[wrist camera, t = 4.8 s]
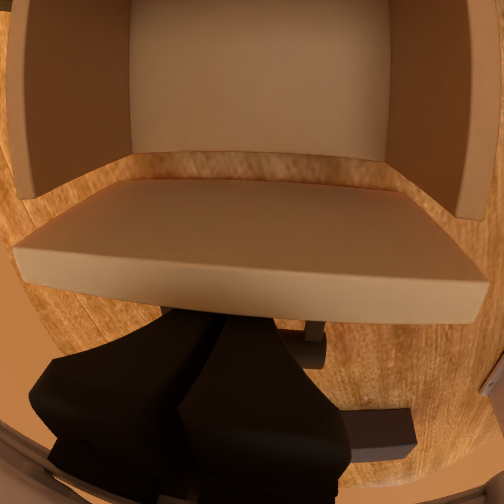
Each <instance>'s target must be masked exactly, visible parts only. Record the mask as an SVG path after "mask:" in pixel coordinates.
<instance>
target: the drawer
mask: <svg viewBox="0 0 504 504" xmlns="http://www.w3.org/2000/svg"><path fill="white" fill-rule="evenodd" d="M500 108H501V50H500V36H499V26H498V18H497V10H496V4H495V0H13V3H12V9H11V16H10V23H9V32H8V43H7V58H6V109H7V125H8V137H9V146H10V154H11V162H12V169H13V175H14V181H15V186H16V192H17V197H18V199H19V200H24V199H36V198H37V197H39V196H41V195H43V194H45V193H47V192H49V191H51V190H53V189H55V188H57V187H59V186H61V185H63V184H65V183H67V182H69V181H71V180H73V179H75V178H77V177H80V176H82V175H84V174H86V173H88V172H91V171H93V170H95V169H97V168H100V167H102V166H104V165H107V164H109V163H111V162H114V161H116V160H119V159H121V158H124V157H126V156H129V155H131V154H144V153H164V152H201V151H232V152H270V153H290V154H306V155H320V156H331V157H342V158H352V159H361V160H370V161H378V162H385V163H387V164H388V165H390V166H391V167H393V168H394V169H395V170H397V171H398V172H399V173H401V174H402V175H403V176H405V177H406V178H407V179H409V180H410V181H411V182H413V183H414V184H415V185H417V186H418V187H419V188H420V189H422V190H423V191H424V192H425V193H427V194H428V195H429V196H430V197H432V198H433V199H434V200H435V201H437V202H438V203H439V204H440V205H441V206H443V207H444V208H445V209H446V210H447V211H448V212H450V213H451V214H452V215H453V216H454V217H456V218H461V219H468V220H474V221H483V219H484V215H485V211H486V206H487V202H488V197H489V193H490V188H491V182H492V177H493V171H494V165H495V158H496V151H497V143H498V134H499V123H500ZM12 251H13V254H14V257H15V260H16V263H17V266H18V269H19V272H20V275H21V278H22V280H23V281H24V282H27V283H31V284H36V285H41V286H46V287H50V288H55V289H60V290H66V291H71V292H76V293H82V294H87V295H93V296H99V297H104V298H110V299H117V300H123V301H129V302H136V303H143V304H149V305H157V306H160V307H161V312H162V316H163V315H164V314H166V313H167V312H169V311H170V310H172V309H173V308H179V309H187V310H195V311H204V312H213V313H222V314H232V315H242V316H253V317H264V318H277V319H290V320H305V321H306V322H305V328H304V331H303V330H288V329H278V331H279V333H280V335H281V337H282V339H283V340H284V342H285V344H286V346H287V347H288V349H289V351H290V352H291V354H292V355H293V357H294V358H295V359H296V361H297V362H298V364H299V365H300V366H301V368H303V369H322V368H323V366H324V363H325V358H326V348H327V338H326V333H325V332H323V331H324V326H325V322H343V323H370V324H469V323H474V322H475V320H476V317H477V315H478V313H479V311H480V309H481V306H482V304H483V302H484V299H485V297H486V295H487V292H488V290H489V287H490V282H489V281H488V279H487V278H486V277H485V276H484V274H483V273H482V272H481V271H480V270H479V268H478V267H477V266H476V265H475V264H474V263H473V261H472V260H471V259H470V258H469V257H468V256H467V255H466V254H465V252H464V251H463V250H462V249H461V248H460V247H459V246H458V245H457V244H456V242H455V241H454V240H453V239H452V238H451V237H450V236H449V235H448V234H447V233H446V232H445V231H444V230H443V229H442V228H441V227H440V226H439V225H438V224H437V223H436V222H435V221H434V220H433V219H432V218H431V217H430V216H429V215H428V214H427V213H426V212H425V211H424V210H423V209H422V208H421V207H420V206H419V205H418V204H417V203H416V202H415V201H414V200H413V199H412V198H411V197H410V196H408V195H407V194H406V193H399V192H391V191H383V190H374V189H364V188H354V187H344V186H333V185H320V184H307V183H291V182H274V181H252V180H219V179H144V180H119V181H117V182H115V183H113V184H112V185H110V186H108V187H106V188H104V189H102V190H101V191H99V192H97V193H95V194H94V195H92V196H90V197H88V198H87V199H85V200H83V201H82V202H80V203H78V204H77V205H75V206H73V207H72V208H70V209H68V210H67V211H65V212H63V213H62V214H60V215H59V216H57V217H56V218H54V219H52V220H51V221H49V222H48V223H46V224H45V225H43V226H42V227H40V228H39V229H37V230H36V231H34V232H33V233H31V234H30V235H28V236H27V237H25V238H24V239H23V240H21V241H20V242H18V243H17V244H16V245H14V246H13V247H12Z"/></svg>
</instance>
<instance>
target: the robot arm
mask: <svg viewBox="0 0 504 504" xmlns="http://www.w3.org/2000/svg"><path fill="white" fill-rule="evenodd" d="M479 393H480V395H481V396H484V395H488V397H489V399H490V402H491V404H492V407H493V409H494V412H495V415H496V417H497V420H498V423H499V426H500V428H501V431H502V434H503V437H504V354H503V356H502V357H501V359H500V360H499V362H498V364H497V365H496V367H495V368H494V370H493V371H492V373H491V374H490V376H489V377H488V379H487V380H486V382H485V383H484V385H483V386H482V388H481V389H480V391H479ZM29 401H30V403H31V406H32V408H33V409H34V411H35V412H36V414H37V415H38V416H39V417H40V419H41V420H42V421H43V422H44V424H45V425H46V426H47V427H48V428H49V429H50V430H51V432H52V433H53V434H54V435H55V436H56V437H57V440H56V442H55V444H54V446H53V448H52V449H51V450H49V449H47V448H45V447H44V446H42V445H40V444H38V443H36V442H35V441H33V440H31V439H29V438H28V437H26V436H24V435H23V434H21V433H20V432H18V431H16V430H15V429H13V428H11V427H10V426H9V425H7V424H5V423H4V422H3V421H1V420H0V504H92V503H90V502H88V501H87V500H85V499H84V498H82V497H81V496H80V495H78V494H77V493H76V492H74V490H72V489H71V488H69V487H68V486H66V485H65V484H63V483H61V482H59V481H58V480H56V479H55V478H54V477H56V478H58V479H60V480H62V481H64V482H66V483H68V484H70V485H72V486H74V487H76V488H78V489H80V490H82V491H84V492H86V493H88V494H91V495H93V496H95V497H97V498H100V499H102V500H104V501H107V502H109V503H112V504H335V497H336V496H337V495H338V479H339V478H340V477H341V475H342V474H343V472H344V471H345V470H346V468H347V467H348V466H349V464H350V461H351V459H352V453H351V445H350V440H349V436H348V432H347V429H346V425H345V423H344V420H343V417H342V414H341V412H340V410H339V409H338V408H337V407H336V406H335V405H334V404H333V403H332V402H331V401H330V400H329V399H328V398H327V397H326V396H325V395H324V394H323V393H322V392H321V391H320V390H319V389H318V387H317V386H316V385H315V384H314V383H313V382H312V381H311V379H310V378H309V377H308V376H307V375H306V373H305V372H304V370H303V369H302V368H301V366H300V365H299V364H298V362H297V361H296V359H295V358H294V357H293V355H292V354H291V352H290V351H289V349H288V347H287V346H286V344H285V342H284V340H283V339H282V337H281V335H280V333H279V331H278V329H277V327H276V325H275V323H274V320H273V318H264V317H253V316H242V315H232V314H222V313H213V312H204V311H195V310H187V309H179V308H173V309H172V310H170V311H169V312H167V313H166V314H164V315H163V316H161V317H159V318H158V319H156V320H154V321H153V322H151V323H149V324H148V325H146V326H144V327H142V328H140V329H138V330H136V331H134V332H132V333H130V334H128V335H125V336H123V337H121V338H119V339H117V340H114V341H112V342H109V343H107V344H104V345H101V346H98V347H96V348H93V349H90V350H87V351H83V352H80V353H76V354H72V355H68V356H64V357H60V358H56V359H53V360H52V361H51V363H50V364H49V365H48V366H47V368H46V369H45V371H44V372H43V374H42V375H41V376H40V378H39V379H38V380H37V382H36V383H35V385H34V386H33V388H32V389H31V391H30V392H29ZM418 504H504V471H502V472H500V473H499V474H497V475H495V476H494V477H492V478H491V479H490V480H489V481H487V482H486V484H484V485H482V486H479V487H476V488H473V489H470V490H467V491H464V492H461V493H457V494H454V495H450V496H446V497H443V498H439V499H435V500H431V501H426V502H422V503H418Z"/></svg>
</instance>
